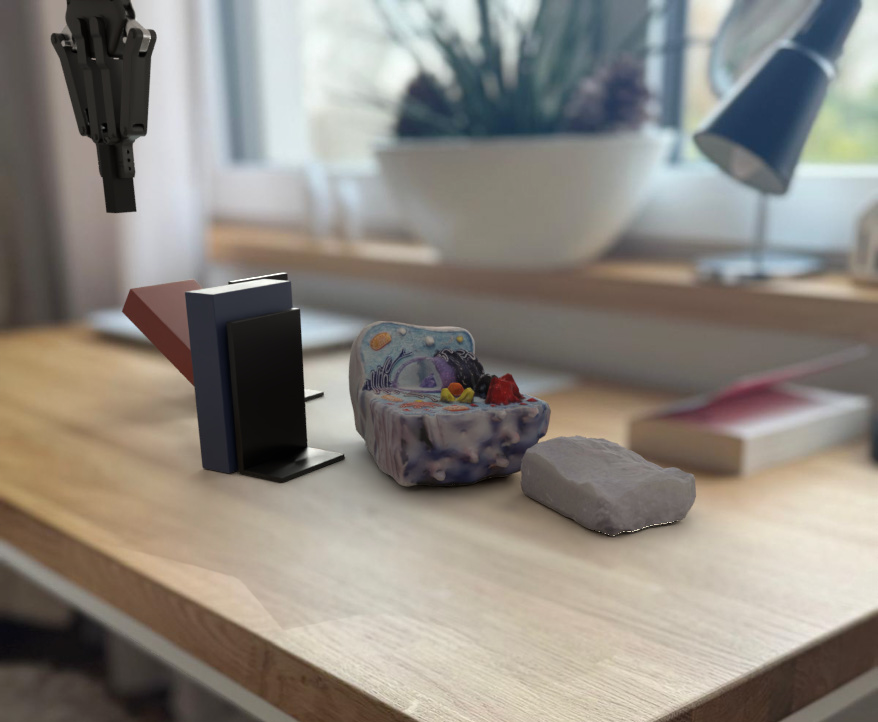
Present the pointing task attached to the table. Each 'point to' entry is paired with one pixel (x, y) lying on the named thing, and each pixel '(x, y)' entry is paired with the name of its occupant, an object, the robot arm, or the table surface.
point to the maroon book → (164, 320)
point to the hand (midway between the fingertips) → (121, 211)
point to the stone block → (604, 484)
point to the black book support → (271, 398)
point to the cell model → (438, 407)
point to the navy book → (223, 358)
